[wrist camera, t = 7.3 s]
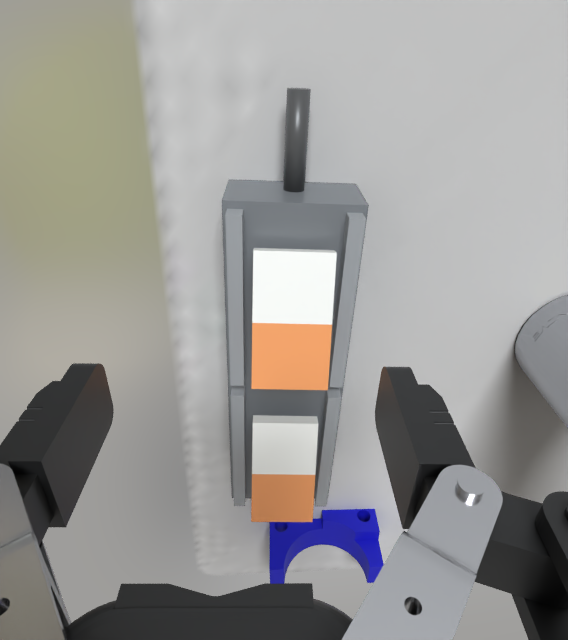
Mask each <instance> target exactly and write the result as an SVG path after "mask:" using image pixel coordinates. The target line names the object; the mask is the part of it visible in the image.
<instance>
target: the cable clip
mask: <svg viewBox="0 0 568 640" xmlns="http://www.w3.org/2000/svg"><path fill="white" fill-rule="evenodd" d="M379 532H380V531H379V527H378V522H377V518H376V513H375V509H353V510H322V518H321V519H313V522H270V584H284V580H285V574H286V571H287V568H288V566H289V564H290V562H291V561H292V559H293V558H294V557H295V556H296V555H297V554H298V553H299V552H301V551H302V550H304V549H306V548H308V547H310V546H314V545H320V544H325V545H333V546H336V547H339V548H341V549H343V550H345V551H347V552H348V553H349V554H351V555H352V556H353V557H354V558H355V559H356V560H357V561H358V563H359V564H360V565H361V567H362V569H363V571H364V573H365V576H366V579H367V582H368V583H371V582H374V581H375V580H376V578H377V576H378V574H379V572H380V571H381V569H382V567H383V560H382V555H381V550H380V546H379V541H378V538H379Z"/></svg>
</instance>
